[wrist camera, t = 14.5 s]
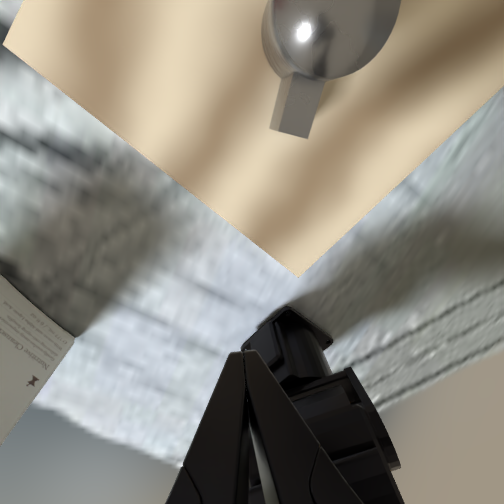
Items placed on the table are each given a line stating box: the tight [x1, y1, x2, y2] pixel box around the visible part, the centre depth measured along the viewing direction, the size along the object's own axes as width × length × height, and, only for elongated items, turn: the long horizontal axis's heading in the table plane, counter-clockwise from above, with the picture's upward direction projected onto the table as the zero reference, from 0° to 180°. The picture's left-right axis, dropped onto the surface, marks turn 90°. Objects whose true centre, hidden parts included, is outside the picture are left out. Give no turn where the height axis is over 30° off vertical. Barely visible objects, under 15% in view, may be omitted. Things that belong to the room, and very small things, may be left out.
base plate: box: [3, 0, 504, 278], centre depth 15 cm, size 22×22×1 cm
